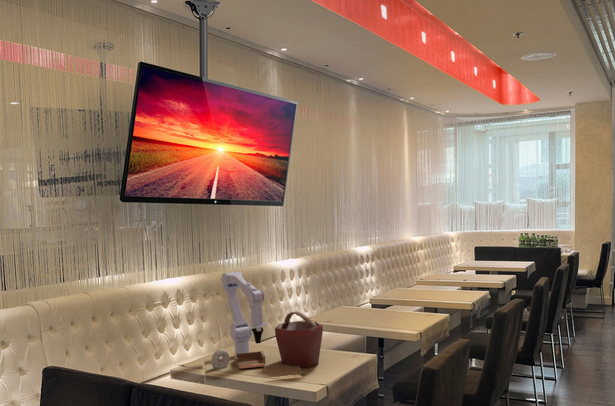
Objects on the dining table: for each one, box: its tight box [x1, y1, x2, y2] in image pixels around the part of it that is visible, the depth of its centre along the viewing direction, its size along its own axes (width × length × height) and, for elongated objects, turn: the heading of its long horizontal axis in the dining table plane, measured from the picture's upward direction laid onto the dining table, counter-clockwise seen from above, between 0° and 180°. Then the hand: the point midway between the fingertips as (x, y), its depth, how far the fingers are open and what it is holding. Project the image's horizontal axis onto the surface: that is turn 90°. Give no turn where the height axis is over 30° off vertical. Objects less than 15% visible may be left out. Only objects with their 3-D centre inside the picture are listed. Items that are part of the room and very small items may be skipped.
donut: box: [210, 348, 230, 370], centre depth 277 cm, size 10×3×10 cm, turn 137°
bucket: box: [274, 311, 324, 370], centre depth 280 cm, size 24×22×25 cm
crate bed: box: [233, 350, 266, 368], centre depth 283 cm, size 11×14×5 cm
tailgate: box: [237, 363, 266, 369], centre depth 274 cm, size 1×12×7 cm
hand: (258, 343), depth 286 cm, fingers closed
